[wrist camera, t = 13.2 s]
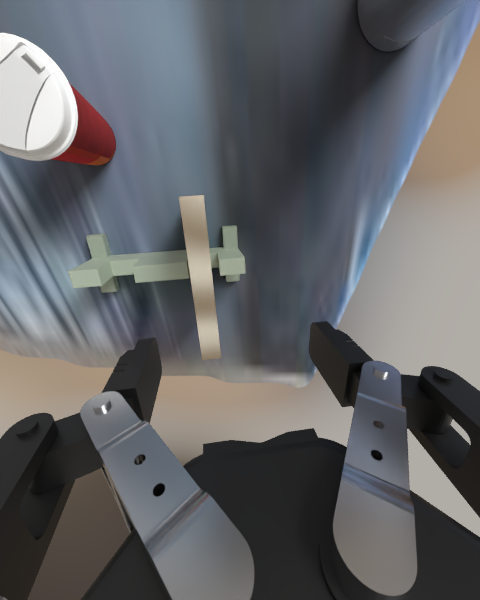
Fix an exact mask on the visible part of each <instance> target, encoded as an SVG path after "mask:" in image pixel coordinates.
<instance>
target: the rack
mask: <svg viewBox="0 0 480 600" xmlns="http://www.w3.org/2000/svg"><path fill="white" fill-rule="evenodd" d="M222 236H223V247H217V248H209V250H210V259H211V268H218V267H219V272H220V276H223V275H225V276H226V282H232V281H240V279H239V274H245V257H244V256H243V254H242V253H241V252H240V250H239V249H238V240H237V226H236V225H233V226H222ZM86 238H87V242H88V245H89V249H90V253H91V256H92V259H91V260H89V261H87V262H85V263H83V264H81V265H79V266H77V267H76V268H74V269H72V270H70V271H68V272H69V276H70V279H71V282H72V285H73V288H82V287H94V286H100V288H101V292H102V293H107V292H116V291H117V290H118V289H119V284H118V280H117V276H120V275H132V274H134V278H135V282H136V283H141V282H153V281H164V280H176V279H188V278H189V275H190V271H189V264H188V257H187V251H186V250H176V251H162V252H149V253H135V254H121V255H111V252H110V248H109V244H108V240H107V236H106V234H93V235H88V236H86Z"/></svg>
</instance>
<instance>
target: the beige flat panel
mask: <svg viewBox="0 0 480 600" xmlns="http://www.w3.org/2000/svg"><path fill="white" fill-rule="evenodd" d="M179 202H180V209H181V216H182V223H183V230H184V237H185V244H186V251H187V257H188V264H189V271H190V278H191V285H192V292H193V299H194V306H195V313H196V320H197V327H198V334H199V341H200V348H201V355H202V360H208V359H216V358H221V352H220V343H219V334H218V324H217V315H216V306H215V296H214V287H213V278H212V269H211V259H210V250H209V241H208V232H207V222H206V213H205V204H204V195H198V196H182V197H179Z"/></svg>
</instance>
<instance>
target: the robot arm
mask: <svg viewBox="0 0 480 600" xmlns="http://www.w3.org/2000/svg"><path fill="white" fill-rule="evenodd" d="M464 1H465V0H358V18H359V23H360V27H361V29H362V32H363V34H364V36H365V37H366V39H367V40H368V42H369V43H370V44H371V45H372V46H373V47H375V48H377V49H379V50H381V51H387V52H390V51H396V50H398V49H401V48H403V47H404V46H406V45H407V44H408V43H410V42H411V41H412V40H414V39H416V38H417V37H418V36H419V35H420V34H422V33H423V32H424V31H426V30H427V29H428V28H430V27H431V26H432V25H434V24H435V23H436V22H438V21H439V20H440V19H442V18H443V17H444V16H446V15H447V14H448V13H450V12H451V11H452V10H454V9H455V8H456V7H458V6H459V5H460V4H461V3H463V2H464ZM309 354H310V357H311V360H312V361H313V363H314V364H315V366H316V367H317V369H318V370H319V372H320V374H321V375H322V377H323V378H324V380H325V381H326V383H327V384H328V386H329V387H330V389H331V390H332V392H333V394H334V395H335V397H336V398H337V400H338V401H339V403H340V404H341V406H342V407H347V406H353V408H354V413H353V418H352V424H351V429H350V435H349V439H348V445H347V447H345V446H343V445H341V444H339V443H337V442H334V441H331V440H328V439H323V438H318V437H317V435H316V432H315V430H314V429H313V428H312V429H305V430H299V431H291V432H287V433H284V434H282V435H279V436H277V437H275V438H272V439H270V440H268V441H265V442H262V443H256V442H246V441H235V440H229V441H222V442H215V443H208V444H203V454H202V455H200V456H198V457H196V458H194V459H192V460H191V461H189V462H188V463H186V464H185V465H184V466H182V465H181V463H180V462H179V461H178V460H177V458H176V457H175V456H174V454H173V453H172V452H171V451H170V450H169V448H168V447H167V446H166V444H165V443H164V442H163V441H162V439H161V438H160V436H159V435H158V434H157V433H156V431H155V430H154V429H153V428H152V426H151V425H150V420H151V416H152V412H153V407H154V403H155V399H156V395H157V391H158V387H159V383H160V379H161V374H162V366H161V360H160V355H159V350H158V345H157V341H156V338H147V339H139V340H138V342H137V345H136V347H135V349H134V350H128V351H127V352H126V353H125V354H124V355H122V356H121V357H120V359H119V361H118V363H117V366H116V367H115V369H114V370H113V373H112V374H111V376H110V378H109V380H108V382H107V384H106V386H105V388H104V390H103V391H102V393H101V394H98V395H96V396H94V397H92V398H91V399H90V400H88V401H87V402H86V403H85V404H84V405H83V407H82V409H81V411H80V413H78V414H75V415H72V416H69V417H66V418H63V419H60V420H58V421H54V419H53V417H52V415H51V414H48V413H39V414H34V415H31V416H29V417H26V418H24V419H22V420H21V421H19V422H17V423H16V424H14V425H13V426H12V427H11V428H9V429H8V431H6V432H5V434H4V435H3V436H2V438H1V439H0V600H27V599H28V597H29V594H30V592H31V589H32V587H33V584H34V582H35V579H36V577H37V574H38V572H39V569H40V567H41V564H42V562H43V559H44V557H45V554H46V552H47V549H48V547H49V544H50V542H51V539H52V537H53V534H54V532H55V529H56V527H57V524H58V522H59V519H60V517H61V514H62V512H63V509H64V506H65V504H66V502H67V499H68V497H69V494H70V492H71V489H72V487H73V484H74V482H75V479H77V478H79V477H82V476H84V475H86V474H88V473H91V472H93V471H95V470H97V469H100V468H101V469H102V472H103V474H104V476H105V478H106V480H107V482H108V484H109V486H110V489H111V491H112V493H113V495H114V497H115V500H116V501H117V504H118V506H119V508H120V511H121V513H122V515H123V518H124V520H125V522H126V525H127V527H128V529H129V531H130V534H129V536H128V537H127V538H126V540H125V541H124V542H123V544H122V545H121V546H120V548H119V549H118V550H117V552H116V553H115V554H114V556H113V557H112V558H111V560H110V561H109V562H108V564H107V565H106V567H105V568H104V569H103V570H102V572H101V573H100V574H99V576H98V577H97V578H96V580H95V581H94V583H93V584H92V585H91V587H90V588H89V589H88V591H87V592H86V593H85V595H84V596H83V597H82V599H81V600H480V537H479V536H477V535H476V534H474V533H473V532H471V531H470V530H468V529H467V528H465V527H464V526H462V525H461V524H459V523H458V522H456V521H455V520H454V519H452V518H451V517H449V516H448V515H446V514H445V513H443V512H442V511H440V510H439V509H437V508H436V507H434V506H433V505H431V504H430V503H429V502H427V501H426V500H424V499H423V498H421V497H420V496H418V495H417V494H415V493H414V492H412V491H411V490H410V487H409V467H408V466H409V465H408V443H407V429H409V430H410V431H411V432H412V434H413V435H414V436H415V437H416V439H417V440H418V441H419V442H420V444H421V445H422V446H423V447H424V449H426V451H427V452H428V454H429V455H430V456H431V457H432V459H433V460H434V461H435V462H436V464H437V465H438V466H439V467H440V468H441V470H442V471H443V472H444V474H445V475H446V476H447V477H448V479H449V480H450V481H451V482H452V483H453V485H454V486H455V487H456V488H457V490H458V491H459V492H460V494H461V495H462V496H463V497H464V499H465V500H466V501H467V502H468V504H469V505H470V506H471V507H472V508H473V510H474V511H475V512H476V514H477V515H478V516H479V517H480V391H479V390H477V389H476V388H475V387H473V386H472V385H471V384H469V383H468V382H467V381H465V380H464V379H463V378H461V377H460V376H459V375H457V374H456V373H454V372H452V371H450V370H447V369H444V368H441V367H435V366H428V367H424V368H423V369H422V371H421V374H420V376H412V375H402V374H400V372H399V371H398V370H397V369H395V367H393V366H391V365H389V364H387V363H384V362H381V361H374V360H373V359H372V358H371V357H369V356H368V355H367V354H366V353H365V352H364V351H363V350H362V349H361V348H360V347H359V346H357V344H356V343H355V342H354V341H353V340H352V339H351V338H350V337H349V336H348V335H347V334H345V333H344V332H342V331H340V330H335V329H334V328H333V327H332V326H331V325H330V324H329V323H328V322H327V321H325V322H315V323H312V324H311V329H310V341H309ZM452 419H454V420H455V421H456V422H457V423H458V424H459V425H460V426H461V427H462V428H463V429H464V430H465V431H466V433H467V434H468V436H469V438H470V441H471V445H469V443H468V442H467V441H465V439H463V438H462V436H461V435H460V434H459V433H458V432H457V431H456V430H455V429H453V427H452V426H451V425H450V424H451V422H452Z"/></svg>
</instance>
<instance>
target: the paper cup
mask: <svg viewBox="0 0 480 600" xmlns="http://www.w3.org/2000/svg"><path fill="white" fill-rule="evenodd" d="M0 150H1V151H2V152H4V153H6V154H7V155H11V156H15V157H19V158H22V159H26V160H33V161H44V160H49V159H53V160H59V161H65V162H72V163H79V164H86V165H102V164H105V163H107V162H108V161H110V160H111V159H112V157H113V155H114V153H115V150H116V140H115V136H114V133H113V131H112V129H111V127H110V126H109V124H108V123H107V122H106V121H105V119H104V118H103V117H102V116H101V115H100V114H99V113H98V112H97V111H96V110H95V109H94V108H93V107H92V106H91V105H90V104H89V103H88V102H87V101H86V100H85V98H84V97H83V96H82V95H81V94H80V93H79V92H78V91H77V90H76V89H75V88H74V87H73V86H72V85H71V84H70V83H69V82H68V80H67V78H66V77H65V75H64V74H63V72H62V71H61V69H60V68H59V67H58V66H57V64H56V63H55V62H54V61H53V60H52V59H51V58H50V57H49V56H48V55H47V54H46V53H45V52H44V51H43V50H41V49H40V48H38V47H37V46H36V45H34V44H33V43H31V42H29V41H27V40H25V39H23V38H20V37H18V36H15V35H11V34H6V33H0Z"/></svg>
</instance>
